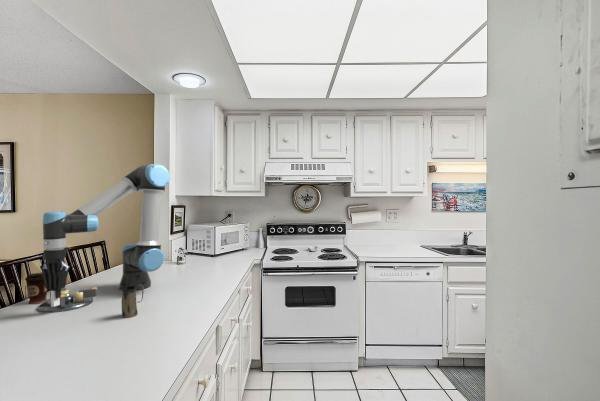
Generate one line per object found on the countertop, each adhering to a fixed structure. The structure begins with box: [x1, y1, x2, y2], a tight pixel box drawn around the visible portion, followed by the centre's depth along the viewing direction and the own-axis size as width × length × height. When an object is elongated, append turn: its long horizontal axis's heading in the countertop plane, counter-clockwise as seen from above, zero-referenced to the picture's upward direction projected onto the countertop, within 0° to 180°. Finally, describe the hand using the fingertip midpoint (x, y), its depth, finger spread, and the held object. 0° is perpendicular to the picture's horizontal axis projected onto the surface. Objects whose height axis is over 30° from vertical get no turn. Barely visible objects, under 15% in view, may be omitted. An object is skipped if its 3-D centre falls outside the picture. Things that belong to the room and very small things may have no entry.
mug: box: [121, 285, 144, 319], centre depth 131 cm, size 8×6×12 cm
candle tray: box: [37, 292, 94, 313], centre depth 145 cm, size 20×20×5 cm
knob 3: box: [74, 286, 98, 302], centre depth 147 cm, size 8×4×5 cm, turn 107°
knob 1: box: [55, 295, 65, 307], centre depth 139 cm, size 8×4×5 cm, turn 58°
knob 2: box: [61, 287, 70, 295], centre depth 150 cm, size 8×4×5 cm, turn 47°
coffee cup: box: [24, 272, 48, 305], centre depth 149 cm, size 9×8×13 cm
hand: (55, 305), depth 135 cm, fingers closed
